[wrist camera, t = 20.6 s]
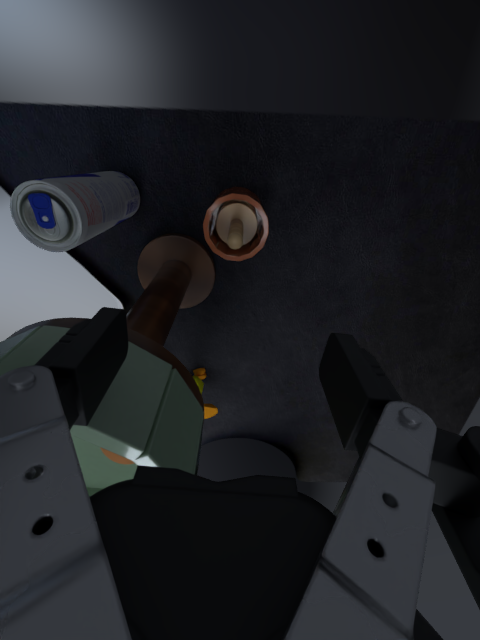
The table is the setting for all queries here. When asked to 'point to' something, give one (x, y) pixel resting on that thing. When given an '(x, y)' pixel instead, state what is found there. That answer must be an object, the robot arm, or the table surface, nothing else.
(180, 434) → the green bowl
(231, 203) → the beige plunger
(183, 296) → the brown pedestal stand
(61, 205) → the beverage can
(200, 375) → the toy figure
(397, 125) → the table surface
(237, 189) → the holder
